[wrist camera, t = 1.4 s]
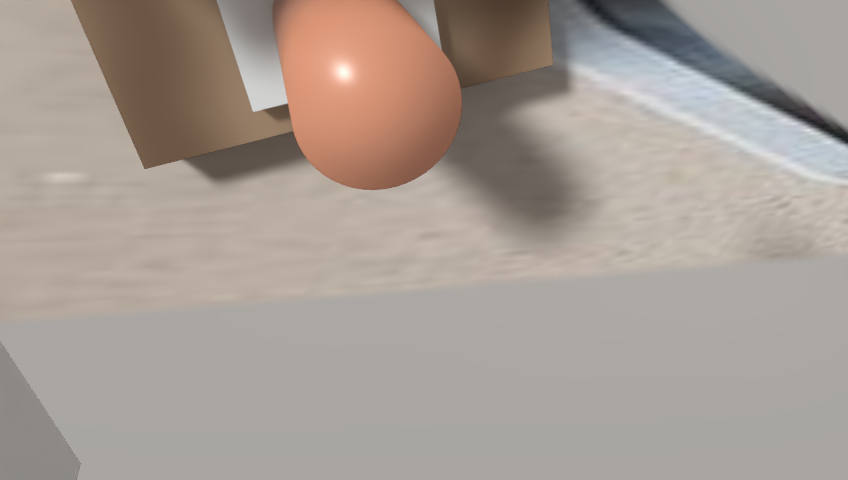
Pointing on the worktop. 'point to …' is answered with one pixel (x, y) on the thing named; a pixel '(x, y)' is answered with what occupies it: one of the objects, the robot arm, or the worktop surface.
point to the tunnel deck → (221, 80)
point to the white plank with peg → (351, 82)
